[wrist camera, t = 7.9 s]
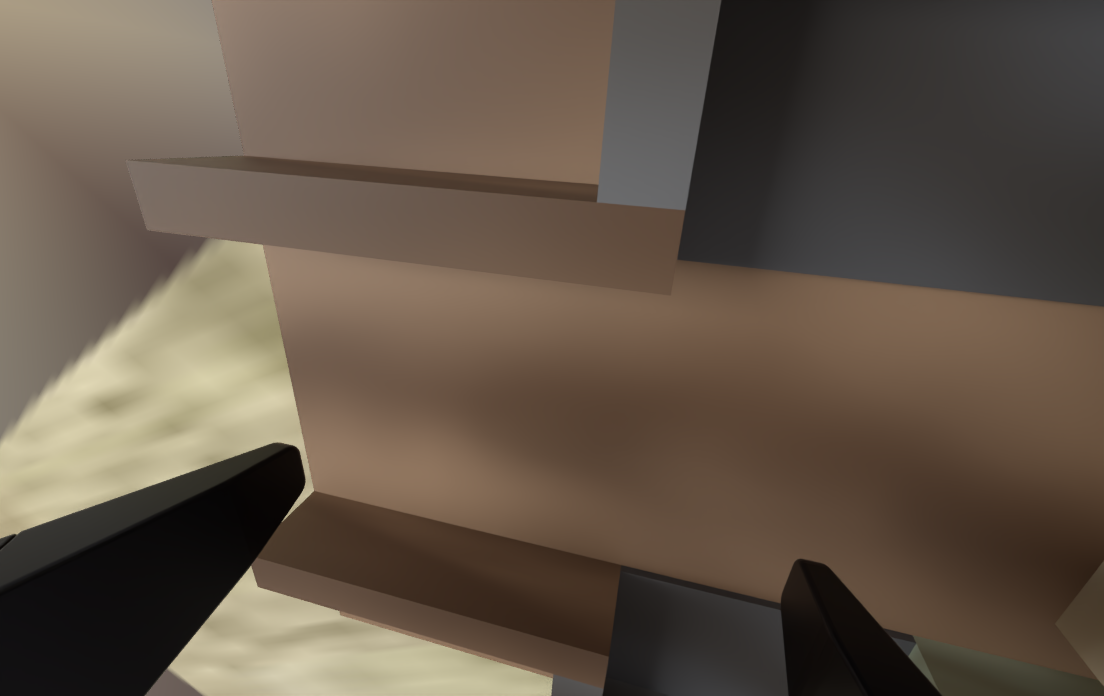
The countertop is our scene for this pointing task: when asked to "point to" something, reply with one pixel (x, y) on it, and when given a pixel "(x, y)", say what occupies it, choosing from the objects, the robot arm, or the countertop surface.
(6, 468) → the countertop surface
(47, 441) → the countertop surface
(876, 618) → the trap lane
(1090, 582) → the maple block
